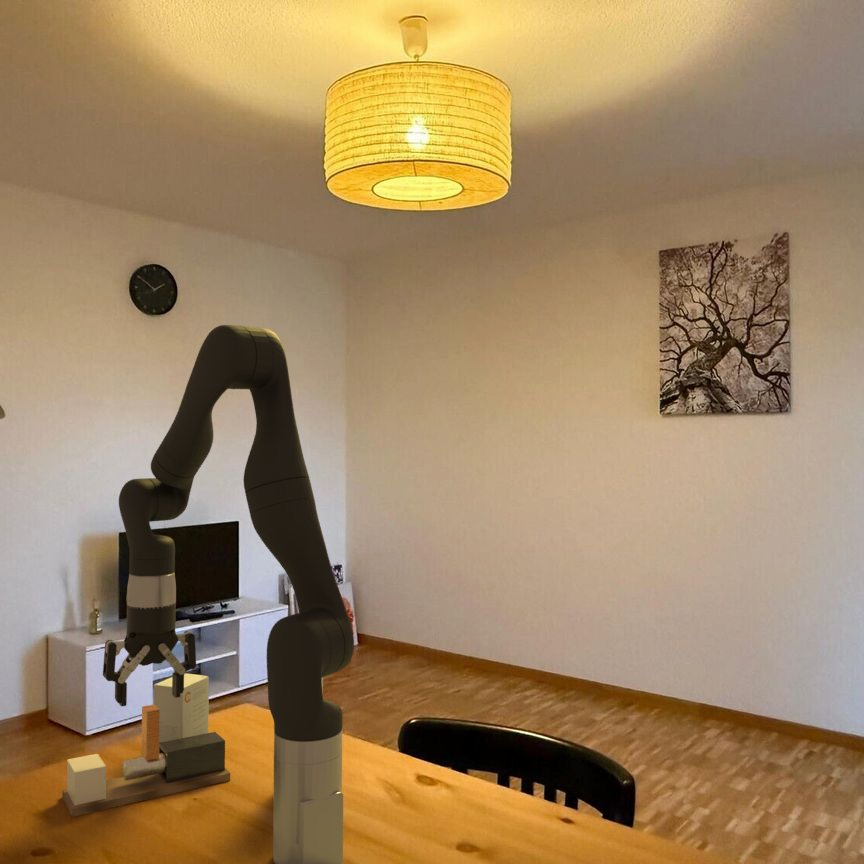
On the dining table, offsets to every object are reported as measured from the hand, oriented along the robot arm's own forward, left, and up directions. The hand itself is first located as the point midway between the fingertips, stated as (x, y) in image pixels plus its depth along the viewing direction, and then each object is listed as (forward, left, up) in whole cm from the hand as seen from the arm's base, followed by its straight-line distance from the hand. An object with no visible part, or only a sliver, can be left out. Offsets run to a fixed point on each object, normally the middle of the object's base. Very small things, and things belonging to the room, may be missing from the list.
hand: (149, 700), depth 134 cm
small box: (+13, -9, -14) cm, 21 cm away
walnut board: (0, 0, -14) cm, 14 cm away
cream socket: (0, +10, -13) cm, 16 cm away
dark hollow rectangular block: (0, -7, -13) cm, 15 cm away
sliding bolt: (0, -3, -12) cm, 12 cm away
